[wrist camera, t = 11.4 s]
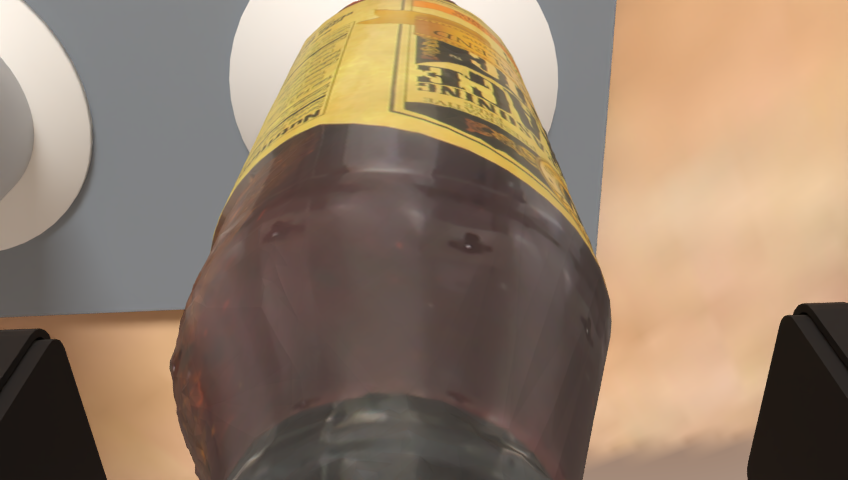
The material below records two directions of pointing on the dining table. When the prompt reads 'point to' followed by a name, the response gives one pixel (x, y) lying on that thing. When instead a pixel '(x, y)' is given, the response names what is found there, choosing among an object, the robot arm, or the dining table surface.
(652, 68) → the dining table surface
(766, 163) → the dining table surface
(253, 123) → the board
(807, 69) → the dining table surface
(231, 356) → the sauce bottle
